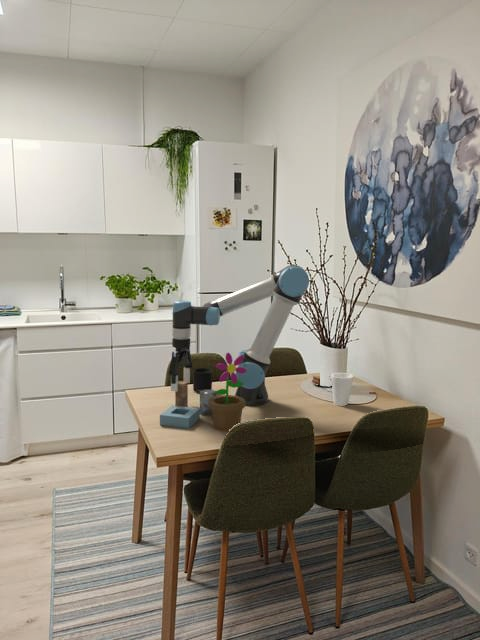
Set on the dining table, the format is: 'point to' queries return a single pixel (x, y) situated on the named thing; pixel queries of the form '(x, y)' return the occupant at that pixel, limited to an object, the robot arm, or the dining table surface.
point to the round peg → (206, 401)
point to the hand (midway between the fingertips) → (180, 386)
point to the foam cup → (341, 388)
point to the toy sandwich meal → (316, 379)
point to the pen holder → (202, 379)
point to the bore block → (180, 416)
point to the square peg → (182, 394)
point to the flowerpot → (228, 397)
